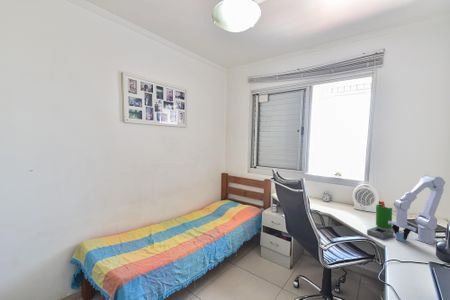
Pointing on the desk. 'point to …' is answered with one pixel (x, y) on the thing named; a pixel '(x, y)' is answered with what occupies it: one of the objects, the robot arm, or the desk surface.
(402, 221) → the robot arm
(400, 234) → the servo
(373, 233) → the chassis
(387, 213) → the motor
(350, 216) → the desk surface
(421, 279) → the desk surface
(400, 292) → the desk surface
